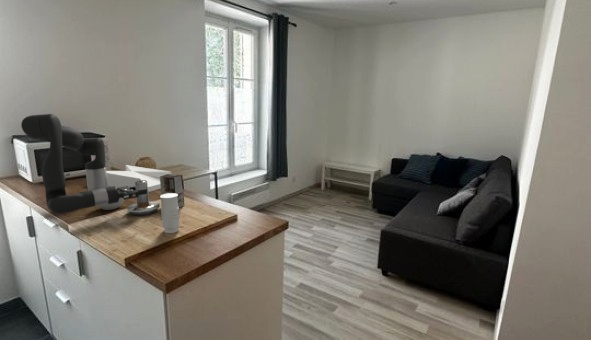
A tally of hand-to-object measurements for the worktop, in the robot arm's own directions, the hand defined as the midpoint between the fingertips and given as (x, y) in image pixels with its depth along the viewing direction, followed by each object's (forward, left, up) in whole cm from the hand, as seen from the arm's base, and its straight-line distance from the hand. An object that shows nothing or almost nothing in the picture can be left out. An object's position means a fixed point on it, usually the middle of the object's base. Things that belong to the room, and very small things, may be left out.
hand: (143, 189), depth 149 cm
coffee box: (+5, +12, -11) cm, 17 cm away
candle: (+30, -9, -11) cm, 33 cm away
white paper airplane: (-52, +27, -12) cm, 60 cm away
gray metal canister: (0, -1, -8) cm, 8 cm away
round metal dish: (0, -1, -11) cm, 11 cm away
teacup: (-18, -5, -11) cm, 22 cm away
